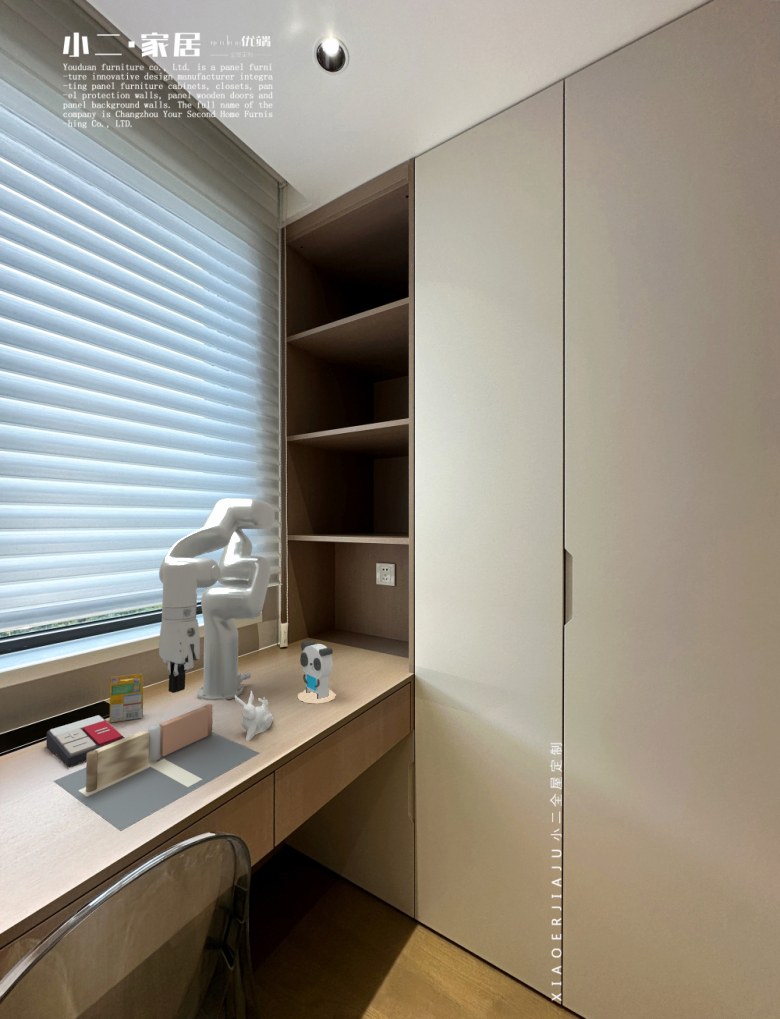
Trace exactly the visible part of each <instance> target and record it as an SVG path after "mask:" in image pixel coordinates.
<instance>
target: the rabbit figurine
mask: <svg viewBox="0 0 780 1019" xmlns="http://www.w3.org/2000/svg"><path fill="white" fill-rule="evenodd" d="M249 693H250V694H249V697H248V702H247V704H246V702H244V701H243V700H242V699H240V698H239V696H236V695H235V698H234V700H235V703H236V704H237V705H239V706H240V707H242V708H243V709H242V712H241V717H242V718H241V725H242V726H241V727H243V729H245V730H246V737H245V742H246V741H247V742H249V741H251V740H252V739H253V738H254V737H255V736H256V735H258V734H259V733H264V732H266V731H267V730H268V729H270V727H271V726H272V723H273V720H274V717H273V714H272V713H270V710H269V708H268V706H269V700H268V699H266V696H264V697H263V698H260V697H258V698H257V701H258V702H261V705H260V706H258V705H257V706H254V705H253V702H254V700H255V696H254V694H253V691H252V690H250V692H249Z"/></svg>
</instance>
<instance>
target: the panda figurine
mask: <svg viewBox="0 0 780 1019" xmlns="http://www.w3.org/2000/svg"><path fill="white" fill-rule="evenodd" d="M300 649H301V651H302V652H301V654H300V659H299V662H300V664H301V667H302V670H303V673H304V674H303V676H302V678H303V681H304V683H305V689H306V693H310V692H313V693H316V694H317V699H321V698H325V697H328V696H329V689H330V687H329V686H330V685H329V684H330V679H329V678H330V676H331V674H332V672H333V656H332V655H333V652H334V651H333V648H332V647H330V646H329V647H327V646H326V645H324V644H322V643H315V641H314V640H309V641H308V640H307V641H303V642H301V644H300Z"/></svg>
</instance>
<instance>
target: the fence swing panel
mask: <svg viewBox="0 0 780 1019" xmlns="http://www.w3.org/2000/svg"><path fill="white" fill-rule="evenodd" d="M213 708H214V706H213V704H211V703H209V704H208V703H207V704H205V705H203V706H201V707H198V708H196V709H192V710H191V711H189V712H185V713H183V714H181V715H178V716H176V717H173V718H171V719H168V720H165V721H163V722H160V723H158V724H153V725H150V726H149V727H147V731H148V732H149V758H148V761H149V762H153V761H156V760H158V759H159V758H160V755H161V756H165V755H167V754H169V753H172V752H174V751H176V750H178V749H180V748H182V747H184V746H187V745H189V744H191V743H193V742H195V741H197V740H200V739H202V738H204V737H206V736H209V735H211V734H212V732H213V715H214V712H213V711H214V710H213Z"/></svg>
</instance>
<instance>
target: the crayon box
mask: <svg viewBox="0 0 780 1019" xmlns="http://www.w3.org/2000/svg"><path fill="white" fill-rule="evenodd" d="M143 706H144V677H143V673H142V672H141V673H134V674H126V675H125V674H124V675H118V676H117V675H116V676H111V677H110V685H109V724H112V723H111V722H113V723H117V722H124V721H130V720H137V719H142V718H143V714H144V707H143Z"/></svg>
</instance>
